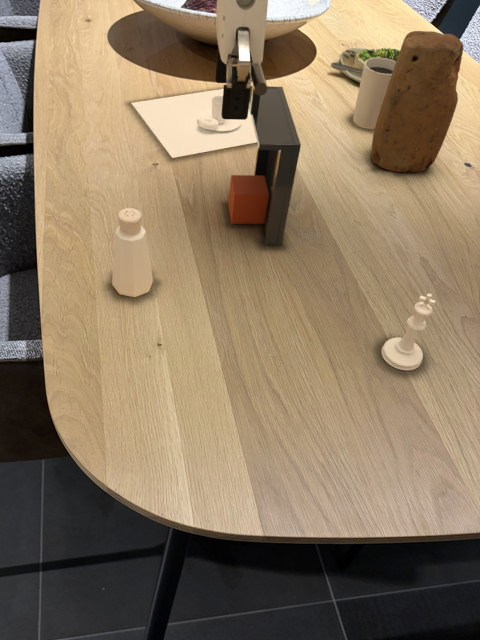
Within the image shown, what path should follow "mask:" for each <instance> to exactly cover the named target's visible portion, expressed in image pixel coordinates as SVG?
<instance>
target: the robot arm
mask: <svg viewBox="0 0 480 640" xmlns="http://www.w3.org/2000/svg"><path fill="white" fill-rule="evenodd" d="M268 6H269V0H216V17H215V18H216V19H215V22H216V23H215V25H216V26H215V27H216V28H215V29H216V40H217V46H218V49H217V50H216V63H215V78H214V80H215V82H216V83H217V84H223V88H222V89H223V102H222V118H223V119H235V120H245V119H247V117H248V109H249V100H250V92H251V86H252V85H251V84H252V79H251V63H252V62H253V63H256V65H260V64H261V65H262V63H263V60H264V51H265V50H264V49H265V41H266V40H265V39H266V38H265V37H266V29H267V17H268ZM249 110H250V109H249Z"/></svg>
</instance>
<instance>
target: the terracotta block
mask: <svg viewBox="0 0 480 640" xmlns="http://www.w3.org/2000/svg"><path fill="white" fill-rule="evenodd" d="M268 199H269V192H268V188H267V184H266V180H265V176H259V175H254V174H253V175H252V174H250V175H248V174H246V175H245V174H244V175H243V174H242V175H241V174H231V175H230V181H229V191H228V200H227V201H228V202H227V205H228V211H229V218H230V223H231V225H236V224H240V225H241V224H242V225H243V224H244V225H252V224H253V225H257V224H259V225H265V217H266V211H267V205H268Z"/></svg>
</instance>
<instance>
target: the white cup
mask: <svg viewBox="0 0 480 640" xmlns="http://www.w3.org/2000/svg"><path fill="white" fill-rule="evenodd" d="M395 63H396V61H394V60H390V59H387V58H371V59H368V60H366V61H365V63H364V68H363V73H362V78H361V82H360V83H359V88H358V92H357V98H356V102H355V107H354V110H353V116H352V122H353V123H354V124H355V125H356V126H358V127H360V128H362V129H366V130H375V126H376V122H377V119H378V116H379V113H380V109H381V106H382V103H383V100H384V97H385V94H386V90H387V87H388V84H389V81H390V78H391V75H392V72H393V69H394V66H395Z"/></svg>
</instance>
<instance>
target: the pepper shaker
mask: <svg viewBox="0 0 480 640" xmlns="http://www.w3.org/2000/svg"><path fill="white" fill-rule="evenodd" d="M117 218H118V227H117V228H116V231H115V233H114V244H113V245H114V246H113V259H112V278H111V285H112V286H113V288H114V289H115V290H116V292H117V293H118V294H119V295H121V296H126V297H131V298H136V297H139V296H142V295H144V294H148V293H149V292H150V290H151V288H152V286H153V283H154V278H153V270H152V264H151V257H150V250H149V243H148V236H147V230H145V228H144V227H143V226H142V219H143V214H142V212H141V211H140V210H139V209H137V208H133V207H126V208H123V209H121V210H120V211H119V212H118V214H117Z"/></svg>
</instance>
